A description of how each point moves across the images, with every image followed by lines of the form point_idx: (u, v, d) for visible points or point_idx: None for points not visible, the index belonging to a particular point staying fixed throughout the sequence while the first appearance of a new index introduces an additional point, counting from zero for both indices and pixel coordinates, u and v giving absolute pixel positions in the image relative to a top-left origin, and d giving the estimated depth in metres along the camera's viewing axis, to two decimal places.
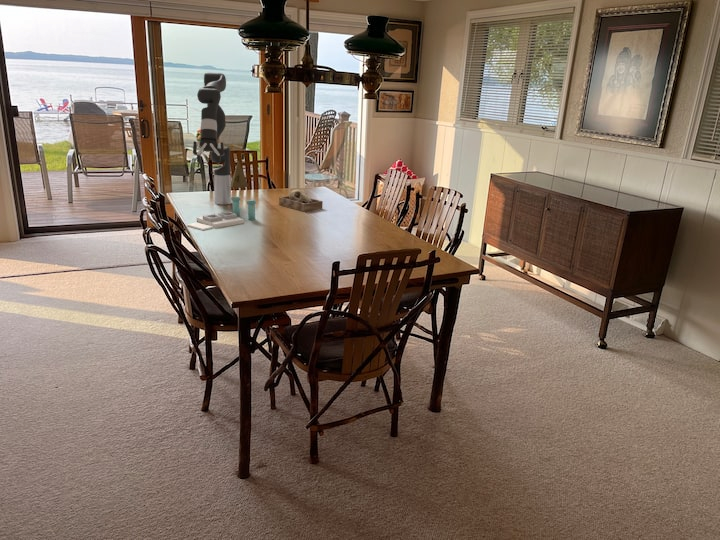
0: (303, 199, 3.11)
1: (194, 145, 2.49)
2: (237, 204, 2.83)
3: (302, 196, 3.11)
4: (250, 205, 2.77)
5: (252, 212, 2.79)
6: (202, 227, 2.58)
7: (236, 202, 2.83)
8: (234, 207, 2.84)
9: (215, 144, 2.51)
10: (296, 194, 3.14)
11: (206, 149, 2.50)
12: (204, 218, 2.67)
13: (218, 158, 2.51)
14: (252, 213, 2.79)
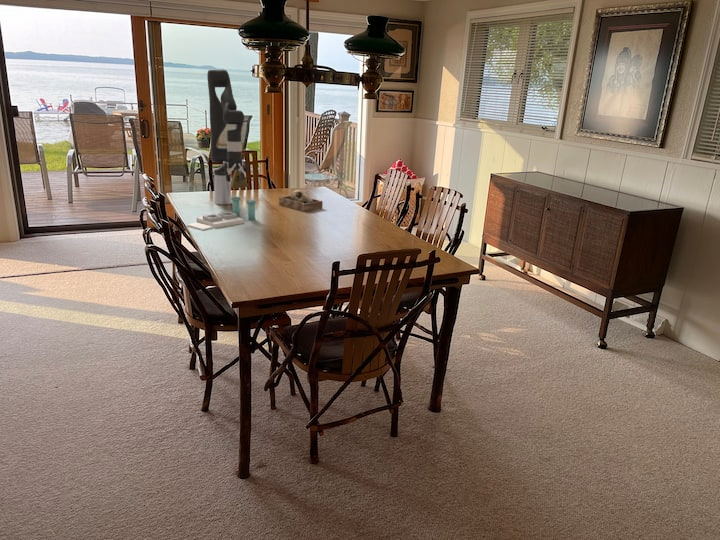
0: (304, 199, 3.11)
1: (225, 166, 2.73)
2: (237, 204, 2.83)
3: (303, 196, 3.10)
4: (250, 205, 2.77)
5: (252, 212, 2.79)
6: (202, 227, 2.58)
7: (236, 202, 2.83)
8: (234, 207, 2.84)
9: (241, 163, 2.79)
10: (297, 194, 3.13)
11: (234, 168, 2.77)
12: (204, 218, 2.67)
13: (243, 175, 2.83)
14: (252, 213, 2.79)
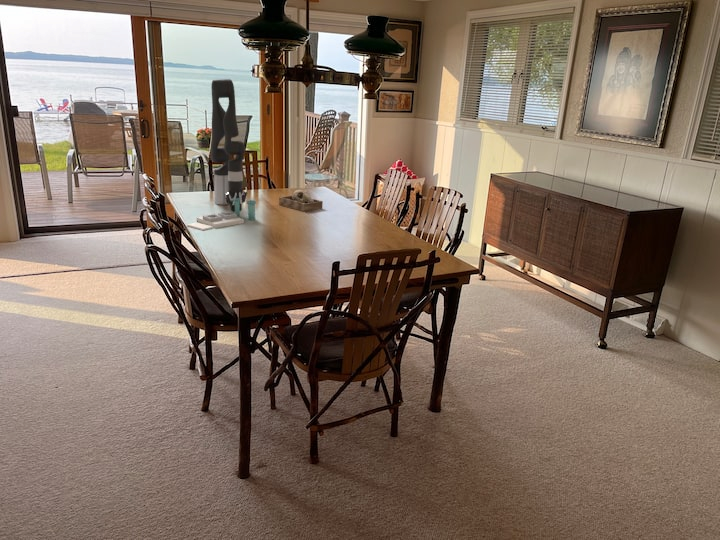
0: (306, 199, 3.10)
1: (228, 197, 2.79)
2: (237, 204, 2.83)
3: (305, 196, 3.10)
4: (250, 205, 2.77)
5: (252, 212, 2.79)
6: (202, 227, 2.58)
7: (236, 202, 2.83)
8: None
9: (241, 192, 2.84)
10: (299, 194, 3.13)
11: (236, 196, 2.83)
12: (204, 218, 2.67)
13: (240, 206, 2.86)
14: (252, 213, 2.79)
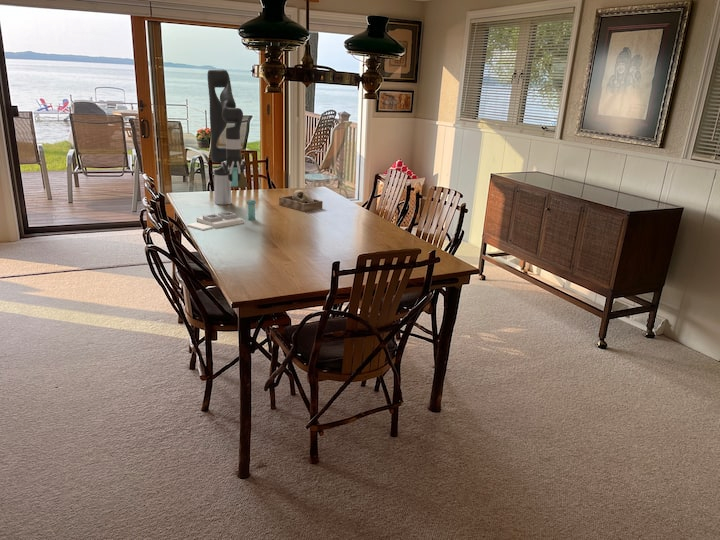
0: (306, 199, 3.10)
1: (224, 166, 2.72)
2: (235, 173, 2.76)
3: (305, 196, 3.10)
4: (250, 205, 2.77)
5: (252, 212, 2.79)
6: (202, 227, 2.58)
7: (234, 171, 2.76)
8: (232, 176, 2.77)
9: (240, 161, 2.77)
10: (299, 194, 3.13)
11: (234, 165, 2.76)
12: (204, 218, 2.67)
13: (239, 176, 2.79)
14: (252, 213, 2.79)
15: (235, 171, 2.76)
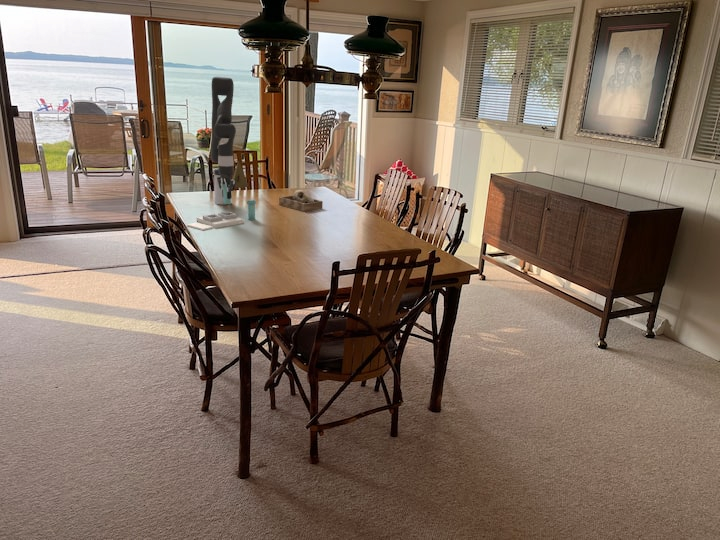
0: (306, 199, 3.10)
1: (218, 181, 2.72)
2: (223, 190, 2.69)
3: (305, 196, 3.10)
4: (250, 205, 2.77)
5: (252, 212, 2.79)
6: (202, 227, 2.58)
7: (223, 188, 2.69)
8: None
9: (228, 179, 2.66)
10: (299, 194, 3.13)
11: (224, 182, 2.68)
12: (204, 218, 2.67)
13: (228, 194, 2.69)
14: (252, 213, 2.79)
15: (223, 188, 2.69)
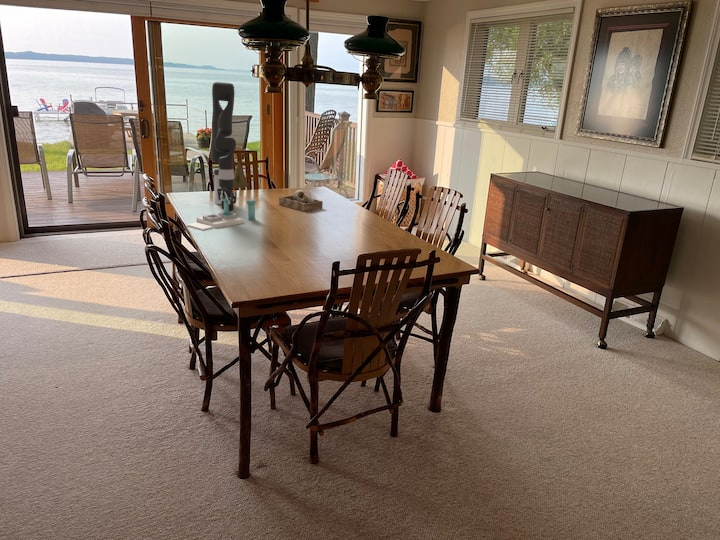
0: (306, 199, 3.10)
1: (218, 192, 2.74)
2: (224, 204, 2.72)
3: (305, 196, 3.10)
4: (250, 205, 2.77)
5: (252, 212, 2.79)
6: (202, 227, 2.58)
7: None
8: None
9: (228, 192, 2.68)
10: (299, 194, 3.14)
11: (224, 196, 2.71)
12: (204, 218, 2.67)
13: (229, 206, 2.70)
14: (252, 213, 2.79)
15: (224, 202, 2.71)
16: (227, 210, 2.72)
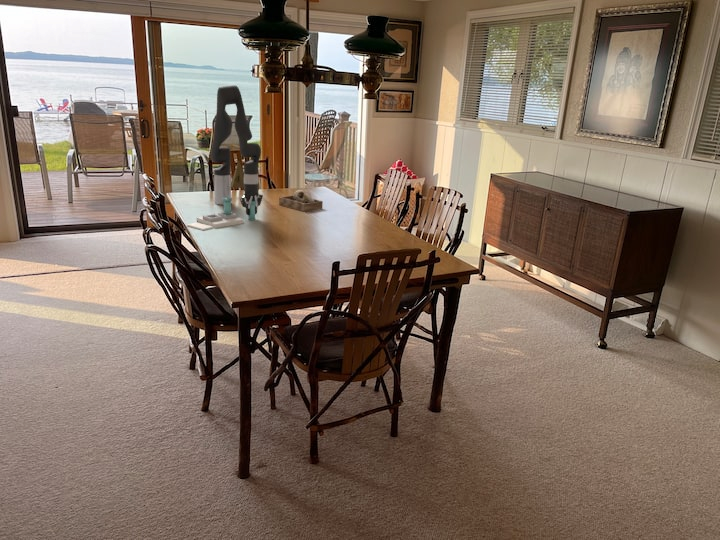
0: (306, 199, 3.11)
1: (244, 201, 2.73)
2: (224, 204, 2.72)
3: (305, 196, 3.10)
4: (250, 205, 2.77)
5: (252, 212, 2.79)
6: (202, 227, 2.58)
7: None
8: None
9: (257, 195, 2.79)
10: (299, 194, 3.14)
11: (252, 199, 2.77)
12: (204, 218, 2.67)
13: (256, 209, 2.81)
14: (252, 213, 2.79)
15: (224, 202, 2.71)
16: (227, 210, 2.72)
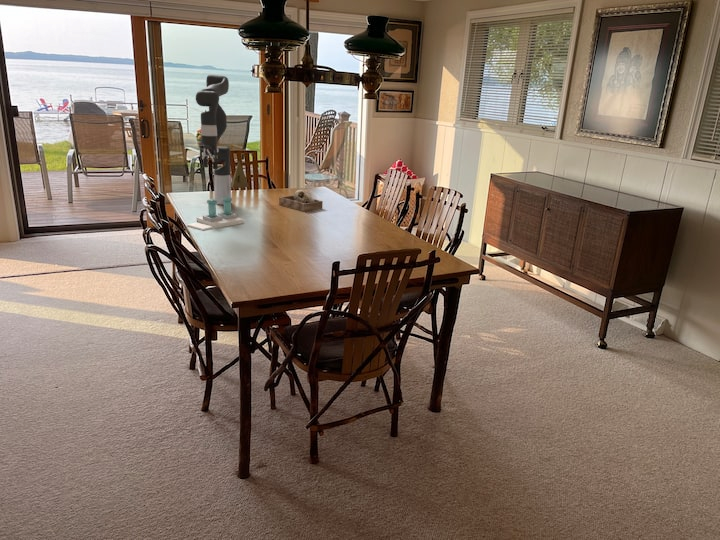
0: (306, 199, 3.11)
1: (200, 149, 2.60)
2: (224, 204, 2.72)
3: (305, 196, 3.10)
4: None
5: None
6: (202, 227, 2.58)
7: None
8: None
9: (211, 150, 2.54)
10: (300, 194, 3.14)
11: (206, 154, 2.58)
12: (204, 218, 2.67)
13: (214, 164, 2.56)
14: None
15: (224, 202, 2.71)
16: (227, 210, 2.72)
